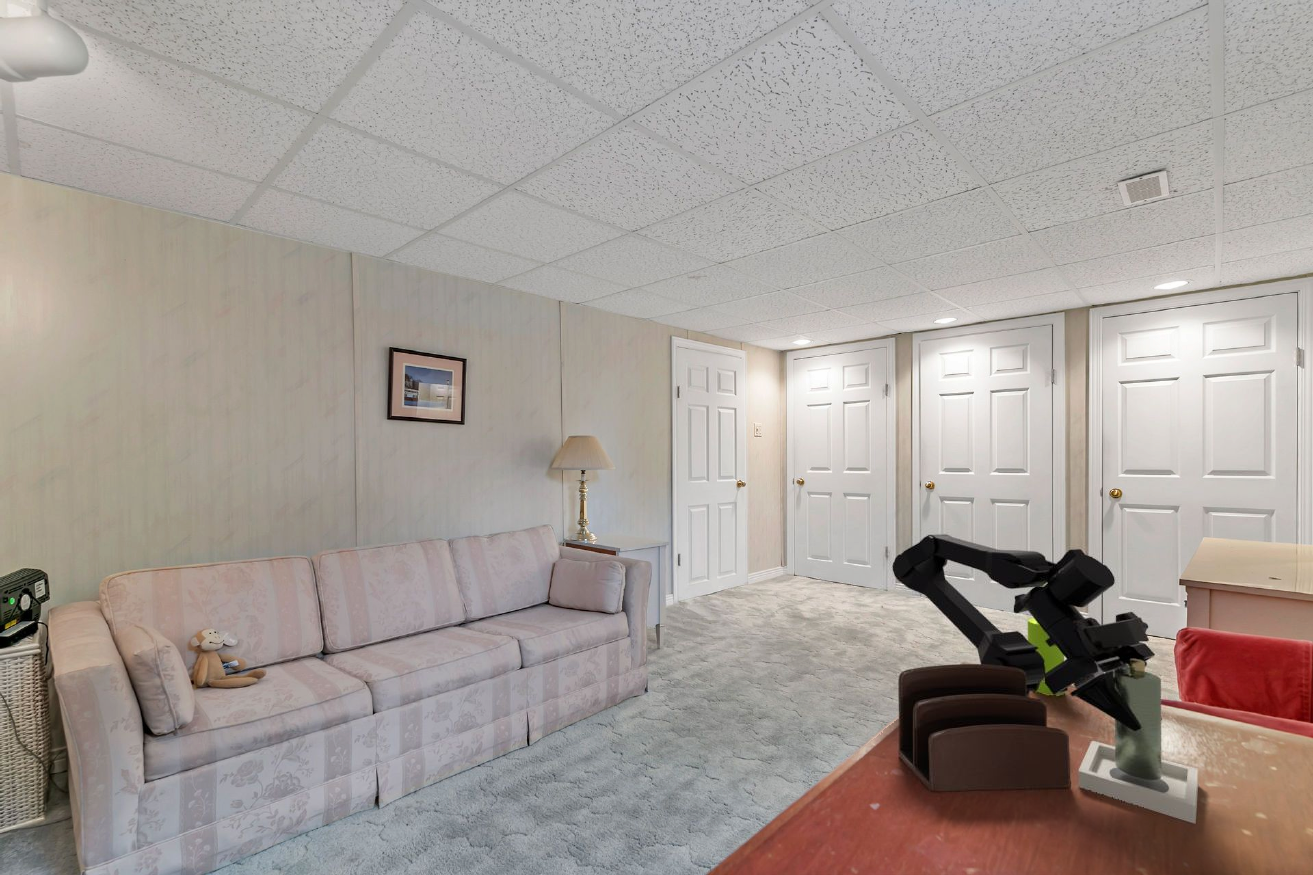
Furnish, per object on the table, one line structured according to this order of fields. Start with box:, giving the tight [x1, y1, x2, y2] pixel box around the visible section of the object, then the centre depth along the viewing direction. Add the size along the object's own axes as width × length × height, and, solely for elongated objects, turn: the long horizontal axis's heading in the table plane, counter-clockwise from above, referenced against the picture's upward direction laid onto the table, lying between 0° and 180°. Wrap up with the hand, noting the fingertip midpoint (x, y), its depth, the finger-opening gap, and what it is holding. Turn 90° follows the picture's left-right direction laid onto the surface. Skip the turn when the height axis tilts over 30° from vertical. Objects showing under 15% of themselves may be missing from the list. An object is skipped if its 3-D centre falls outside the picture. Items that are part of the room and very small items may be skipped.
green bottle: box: [1114, 659, 1162, 780], centre depth 83 cm, size 5×5×15 cm
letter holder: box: [897, 663, 1072, 793], centre depth 87 cm, size 10×20×14 cm, turn 93°
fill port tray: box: [1077, 740, 1199, 825], centre depth 83 cm, size 12×12×2 cm
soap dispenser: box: [1027, 584, 1065, 697], centre depth 117 cm, size 6×7×20 cm
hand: (1148, 725), depth 82 cm, fingers closed on green bottle, 5 cm apart
